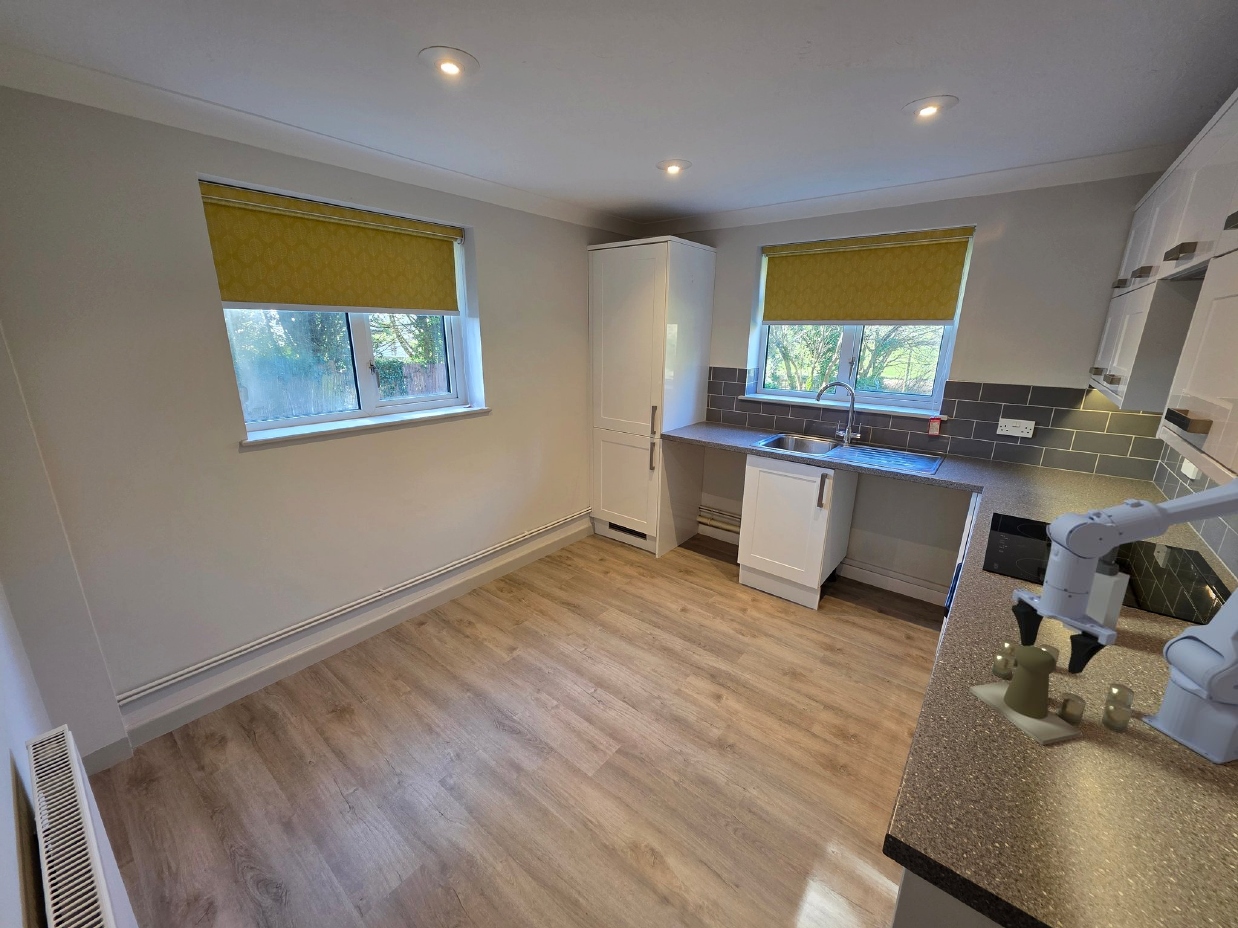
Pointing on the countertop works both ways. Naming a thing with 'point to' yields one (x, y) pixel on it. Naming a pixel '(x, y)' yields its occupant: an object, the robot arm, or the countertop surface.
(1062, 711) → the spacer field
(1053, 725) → the pale grey metal board
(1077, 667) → the robot arm
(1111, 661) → the countertop surface
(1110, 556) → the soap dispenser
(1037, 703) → the cork
